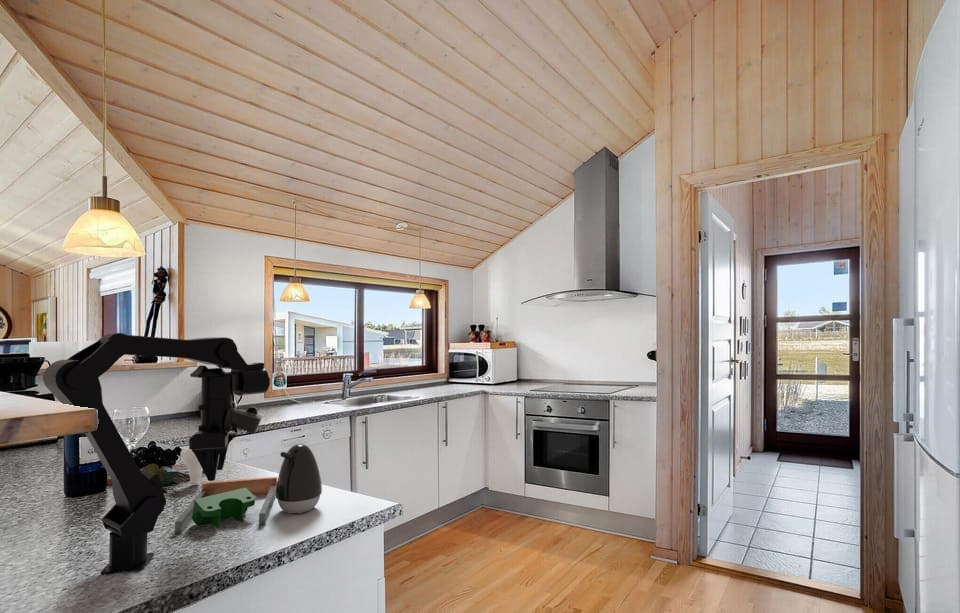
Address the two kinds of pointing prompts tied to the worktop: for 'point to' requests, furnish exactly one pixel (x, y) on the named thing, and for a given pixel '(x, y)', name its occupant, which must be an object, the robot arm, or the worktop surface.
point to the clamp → (222, 507)
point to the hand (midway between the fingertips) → (215, 475)
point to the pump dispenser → (298, 480)
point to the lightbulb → (192, 466)
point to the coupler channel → (212, 488)
